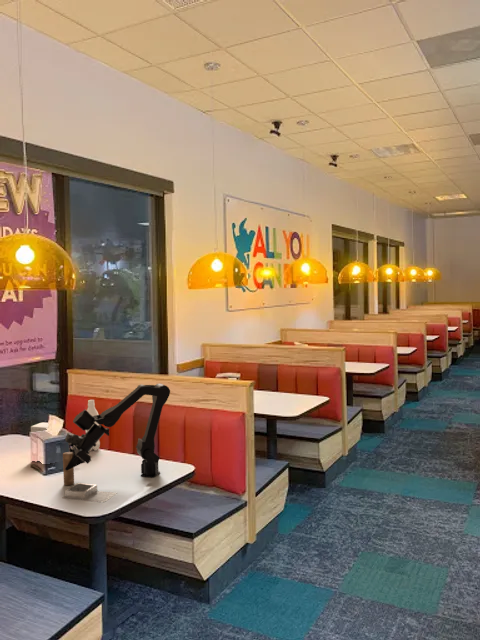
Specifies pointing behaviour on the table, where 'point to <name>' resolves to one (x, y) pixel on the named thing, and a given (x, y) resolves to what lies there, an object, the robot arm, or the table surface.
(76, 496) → the beige square tray
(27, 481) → the table surface
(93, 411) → the water bottle
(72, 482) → the stay rod
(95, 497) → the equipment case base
